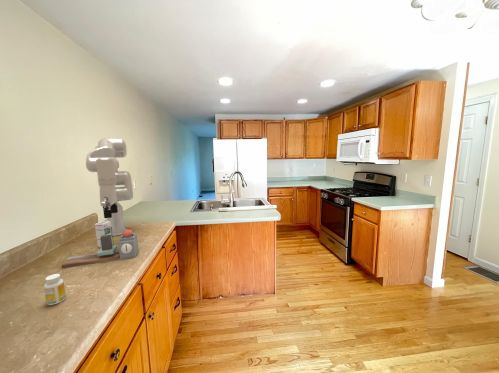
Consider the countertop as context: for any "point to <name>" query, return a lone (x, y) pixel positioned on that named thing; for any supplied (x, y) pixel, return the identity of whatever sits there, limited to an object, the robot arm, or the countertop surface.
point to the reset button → (127, 233)
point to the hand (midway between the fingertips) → (111, 215)
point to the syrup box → (103, 230)
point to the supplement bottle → (54, 289)
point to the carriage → (106, 246)
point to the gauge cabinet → (128, 246)
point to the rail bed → (90, 259)
